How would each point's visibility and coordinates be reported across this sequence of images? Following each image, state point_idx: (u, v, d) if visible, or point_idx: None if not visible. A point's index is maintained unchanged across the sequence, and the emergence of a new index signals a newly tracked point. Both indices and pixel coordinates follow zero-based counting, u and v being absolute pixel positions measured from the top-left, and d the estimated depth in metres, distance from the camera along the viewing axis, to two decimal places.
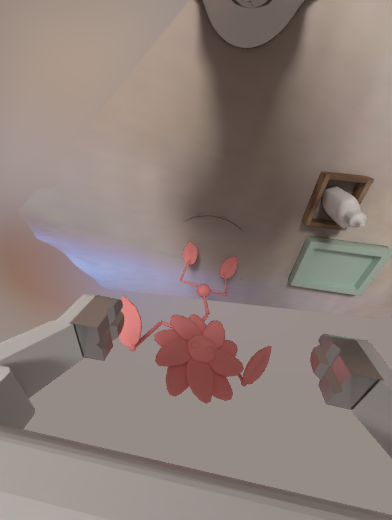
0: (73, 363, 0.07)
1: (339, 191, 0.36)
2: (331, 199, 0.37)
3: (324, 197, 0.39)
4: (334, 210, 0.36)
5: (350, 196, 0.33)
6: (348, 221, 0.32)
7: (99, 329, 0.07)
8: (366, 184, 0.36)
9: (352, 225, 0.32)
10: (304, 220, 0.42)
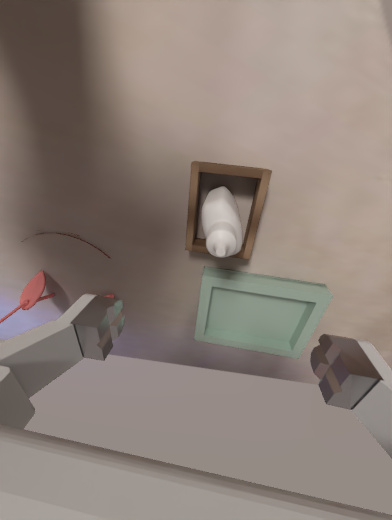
0: (73, 363, 0.07)
1: (216, 192, 0.20)
2: None
3: None
4: None
5: (217, 198, 0.17)
6: None
7: (99, 329, 0.07)
8: (262, 180, 0.20)
9: (213, 253, 0.16)
10: None
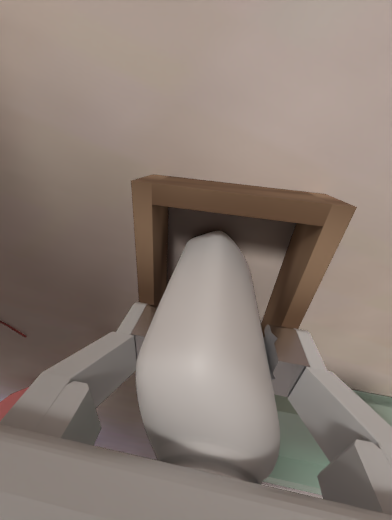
0: (129, 374, 0.07)
1: (199, 260, 0.08)
2: None
3: None
4: None
5: (189, 334, 0.04)
6: None
7: None
8: (323, 231, 0.07)
9: None
10: None
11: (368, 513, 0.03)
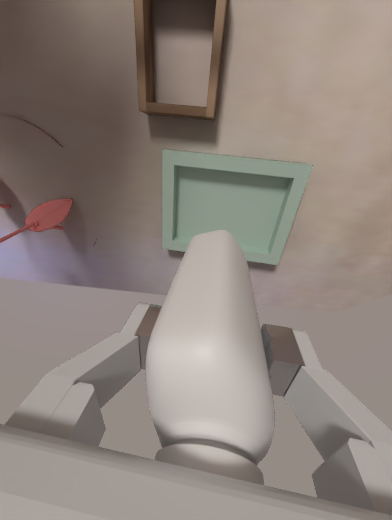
0: (133, 375, 0.07)
1: (207, 256, 0.08)
2: None
3: None
4: None
5: (204, 322, 0.05)
6: None
7: None
8: None
9: None
10: None
11: (368, 513, 0.03)
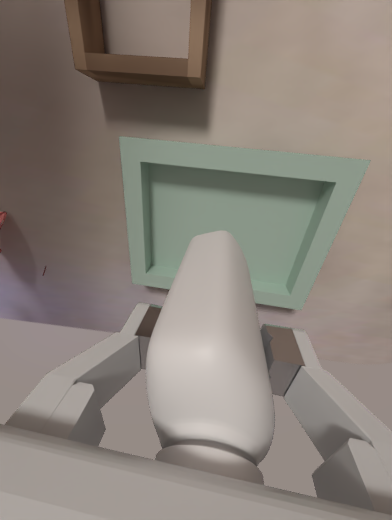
0: (133, 375, 0.07)
1: (207, 256, 0.08)
2: None
3: None
4: None
5: (203, 323, 0.05)
6: None
7: None
8: None
9: None
10: None
11: (368, 513, 0.03)
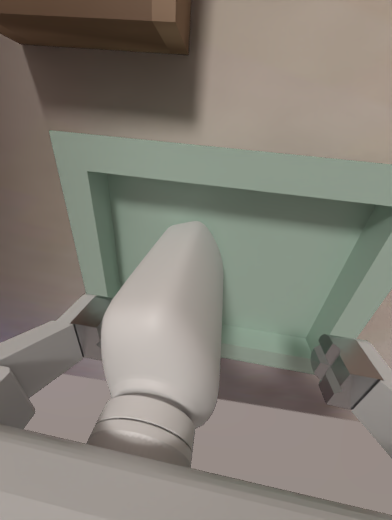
0: (73, 363, 0.07)
1: (174, 243, 0.08)
2: None
3: None
4: None
5: (151, 295, 0.05)
6: None
7: (99, 329, 0.07)
8: None
9: None
10: None
11: (368, 513, 0.03)
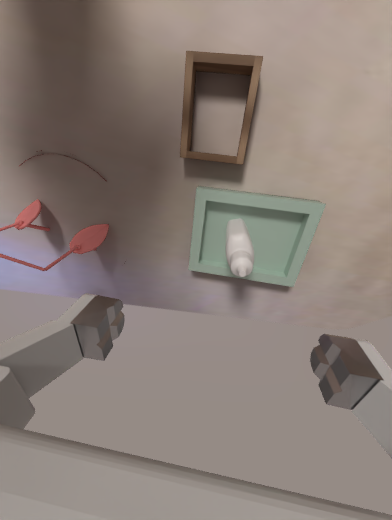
0: (73, 363, 0.07)
1: (237, 224, 0.27)
2: (226, 233, 0.27)
3: None
4: None
5: (240, 232, 0.23)
6: None
7: (99, 329, 0.07)
8: (254, 69, 0.21)
9: (234, 273, 0.22)
10: None
11: (368, 513, 0.03)
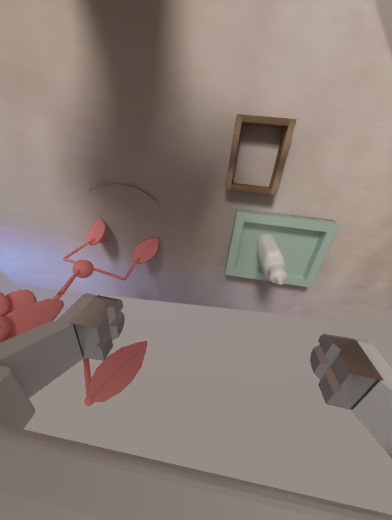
0: (73, 363, 0.07)
1: (269, 240, 0.34)
2: (261, 248, 0.34)
3: (258, 243, 0.37)
4: (261, 260, 0.33)
5: (275, 249, 0.31)
6: (269, 276, 0.30)
7: (99, 329, 0.07)
8: (288, 127, 0.28)
9: (273, 281, 0.29)
10: None
11: (368, 513, 0.03)
